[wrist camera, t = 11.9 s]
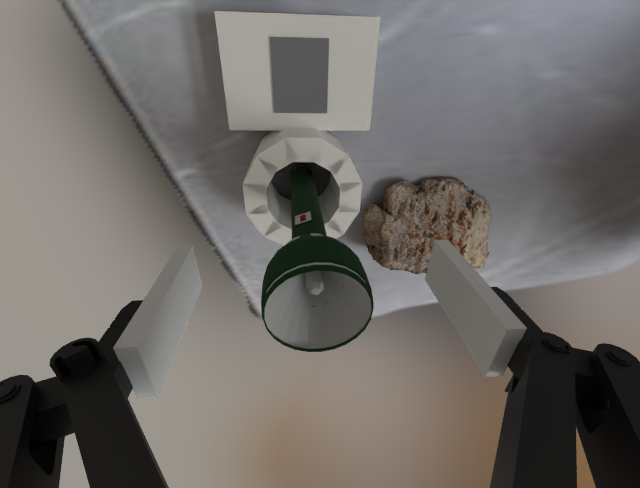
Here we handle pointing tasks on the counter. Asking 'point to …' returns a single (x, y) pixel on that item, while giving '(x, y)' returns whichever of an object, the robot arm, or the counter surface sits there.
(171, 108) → the counter surface
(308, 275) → the flashlight
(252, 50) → the block
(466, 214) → the rock
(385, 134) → the counter surface
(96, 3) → the counter surface
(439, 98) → the counter surface
